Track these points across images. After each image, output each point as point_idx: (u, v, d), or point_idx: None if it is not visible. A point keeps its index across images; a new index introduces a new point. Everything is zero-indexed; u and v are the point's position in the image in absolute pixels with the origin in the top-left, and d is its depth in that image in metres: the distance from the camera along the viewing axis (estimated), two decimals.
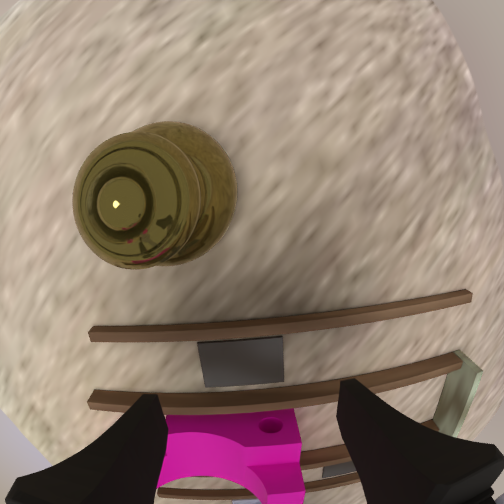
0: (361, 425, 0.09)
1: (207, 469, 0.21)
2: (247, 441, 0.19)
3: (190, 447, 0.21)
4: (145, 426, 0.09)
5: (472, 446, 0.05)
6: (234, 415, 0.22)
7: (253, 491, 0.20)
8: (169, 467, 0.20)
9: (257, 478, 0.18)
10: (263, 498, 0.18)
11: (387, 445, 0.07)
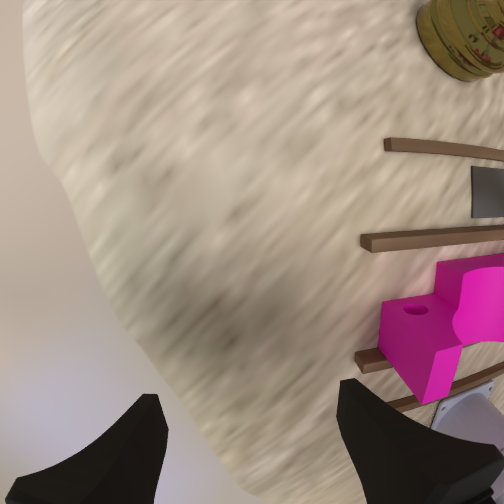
0: (361, 425, 0.09)
1: (474, 331, 0.19)
2: None
3: (472, 294, 0.18)
4: (145, 426, 0.09)
5: (472, 446, 0.05)
6: (490, 257, 0.19)
7: None
8: None
9: None
10: None
11: (387, 445, 0.07)
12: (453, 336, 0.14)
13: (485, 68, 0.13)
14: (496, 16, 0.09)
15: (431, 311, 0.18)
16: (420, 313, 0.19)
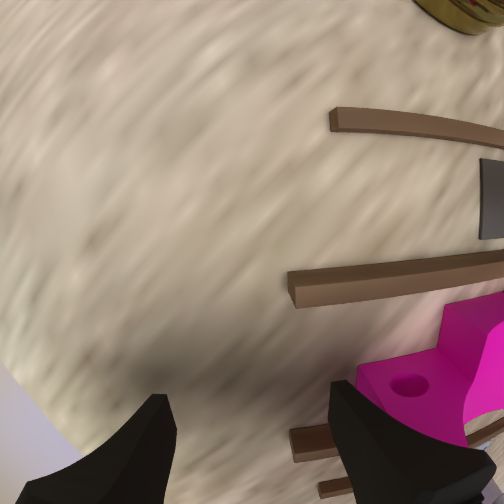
0: (351, 427, 0.09)
1: (489, 399, 0.11)
2: None
3: (495, 355, 0.11)
4: (155, 426, 0.09)
5: (461, 451, 0.05)
6: None
7: None
8: None
9: None
10: None
11: (375, 448, 0.07)
12: (462, 444, 0.07)
13: (494, 4, 0.06)
14: None
15: (433, 389, 0.11)
16: (416, 385, 0.12)
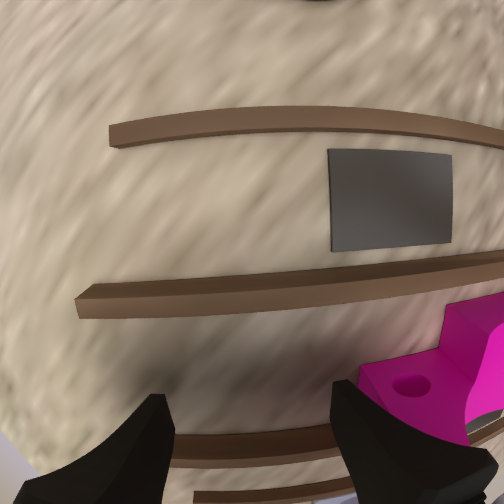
0: (353, 427, 0.09)
1: (490, 399, 0.11)
2: None
3: (496, 356, 0.11)
4: (153, 426, 0.09)
5: (463, 450, 0.05)
6: None
7: None
8: None
9: None
10: None
11: (377, 448, 0.07)
12: (464, 444, 0.07)
13: None
14: None
15: (435, 389, 0.11)
16: (418, 385, 0.12)
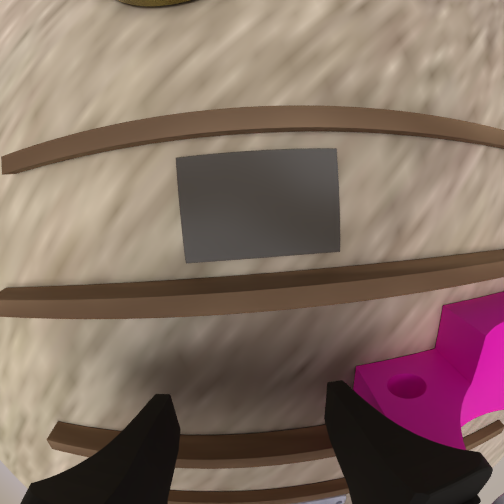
0: (346, 428, 0.09)
1: (488, 400, 0.11)
2: None
3: (493, 357, 0.11)
4: (159, 427, 0.09)
5: (457, 453, 0.05)
6: None
7: None
8: None
9: None
10: None
11: (370, 450, 0.07)
12: (459, 446, 0.07)
13: None
14: None
15: (431, 390, 0.11)
16: (414, 386, 0.12)
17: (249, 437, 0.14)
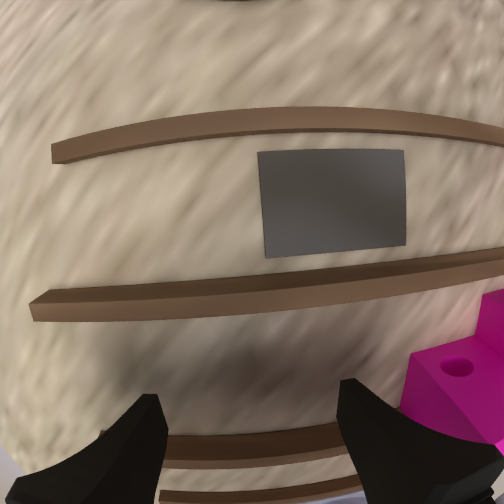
0: (361, 425, 0.09)
1: None
2: None
3: None
4: (145, 426, 0.09)
5: (472, 446, 0.05)
6: None
7: None
8: None
9: None
10: None
11: (387, 445, 0.07)
12: None
13: None
14: None
15: (478, 368, 0.11)
16: (460, 367, 0.12)
17: (310, 431, 0.14)
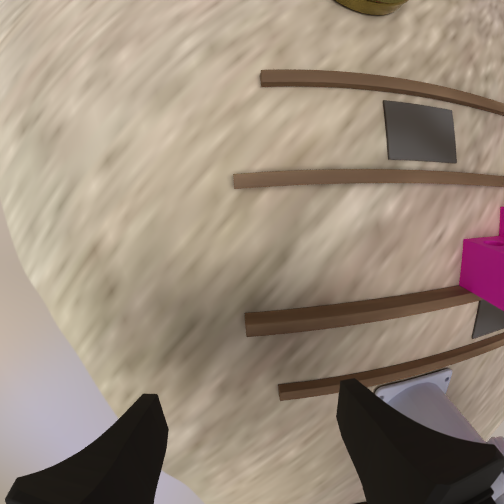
0: (361, 425, 0.09)
1: None
2: None
3: None
4: (145, 426, 0.09)
5: (472, 446, 0.05)
6: None
7: None
8: None
9: None
10: None
11: (387, 445, 0.07)
12: None
13: None
14: None
15: None
16: None
17: (409, 295, 0.20)
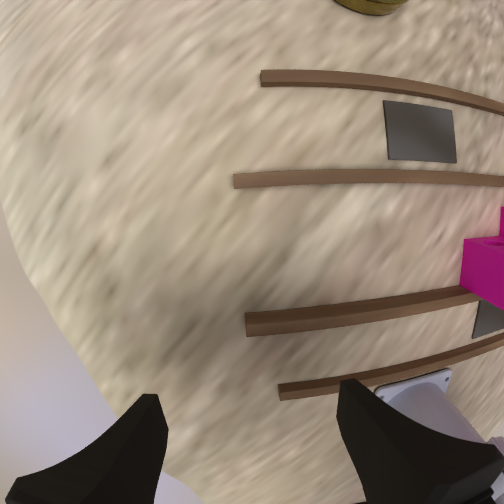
0: (361, 425, 0.09)
1: None
2: None
3: None
4: (145, 426, 0.09)
5: (472, 446, 0.05)
6: None
7: None
8: None
9: None
10: None
11: (387, 445, 0.07)
12: None
13: None
14: None
15: None
16: None
17: (409, 295, 0.20)
